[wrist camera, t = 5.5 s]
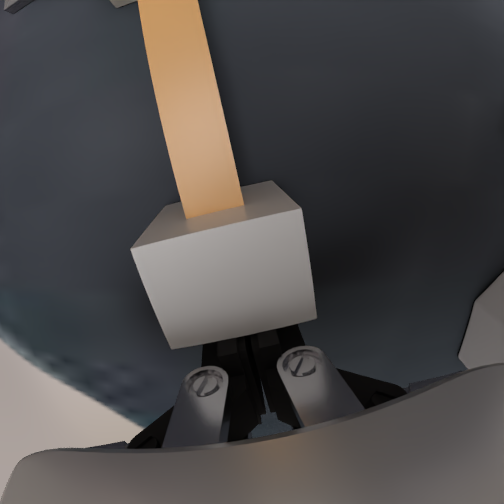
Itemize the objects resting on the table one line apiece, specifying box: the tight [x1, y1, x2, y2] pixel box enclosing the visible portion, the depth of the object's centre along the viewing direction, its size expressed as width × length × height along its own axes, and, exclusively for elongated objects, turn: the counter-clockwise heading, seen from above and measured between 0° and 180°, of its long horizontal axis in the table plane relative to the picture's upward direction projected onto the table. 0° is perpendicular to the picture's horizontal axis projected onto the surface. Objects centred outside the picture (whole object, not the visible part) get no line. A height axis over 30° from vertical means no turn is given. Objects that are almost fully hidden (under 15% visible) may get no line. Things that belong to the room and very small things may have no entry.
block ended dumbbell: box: [110, 0, 317, 349], centre depth 6 cm, size 4×16×6 cm, turn 12°
